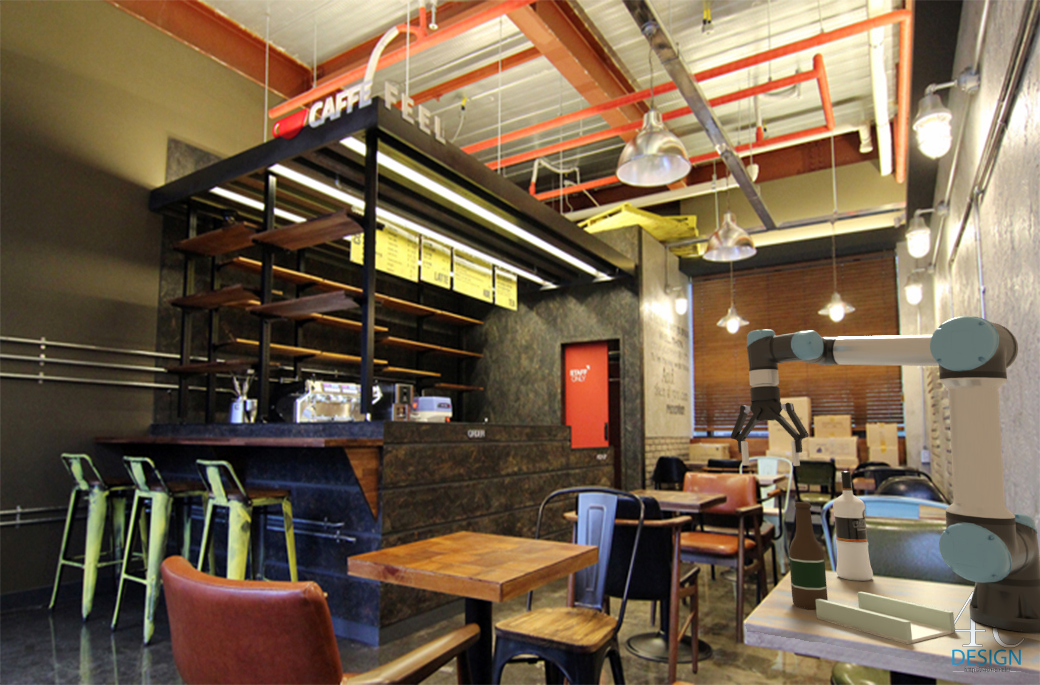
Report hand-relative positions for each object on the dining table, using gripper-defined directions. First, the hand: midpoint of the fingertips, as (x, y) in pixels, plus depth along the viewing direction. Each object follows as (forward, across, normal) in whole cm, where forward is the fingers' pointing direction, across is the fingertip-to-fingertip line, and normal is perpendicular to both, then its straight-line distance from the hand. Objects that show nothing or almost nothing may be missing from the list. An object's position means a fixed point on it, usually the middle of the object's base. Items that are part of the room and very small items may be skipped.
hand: (770, 465), depth 167 cm
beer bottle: (+33, -10, +9) cm, 35 cm away
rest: (+33, -28, +15) cm, 45 cm away
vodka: (+32, -9, -32) cm, 46 cm away
